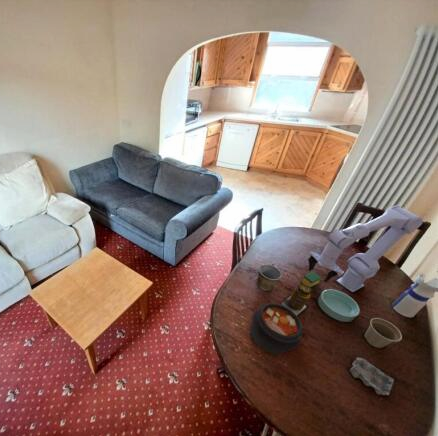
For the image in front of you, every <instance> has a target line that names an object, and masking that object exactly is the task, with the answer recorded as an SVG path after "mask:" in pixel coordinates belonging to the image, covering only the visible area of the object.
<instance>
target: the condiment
mask: <svg viewBox="0 0 438 436" xmlns="http://www.w3.org/2000/svg"><path fill="white" fill-rule="evenodd" d="M311 294H312V287H309V286H307V285H305V284H303V283H299V284H298V285H297V286H296V287H295V288H294V290H293V292H292V293H291V295H290V296H289V297H288V298H286V299H285V300H284V301H282V303H281V305H283V306H285V307H287V308H289V309H290V310H291V311H293V312H294V313H295V314H296V315H297V316H298V315H299V314H301V312H303V311H304V310H305V309H306V308H307V307H308V306H307V305H306V303H307V302H308V300H309V299H310V297H311Z"/></svg>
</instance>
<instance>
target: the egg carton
mask: <svg viewBox="0 0 438 436" xmlns="http://www.w3.org/2000/svg"><path fill="white" fill-rule="evenodd" d="M351 366H352V367H351V368H350V369H349V372H350V373H351V375H352V376H353V378H355V379H358V378H359V379H360V380H361V381H362V382H363V385H365V386H367V387H371V388H372V389H374V391H375V393H376V394H377V395H379V396H381V395H382V396H386V395H387V396H390V393H391V390H392V388H393V384H394V381H395V379H394V378H392V377H391V376H389V375H387V374H385V373H384V372H383V371H381V369H379V368H377V367H376V366H374V365H373V364H372V363H370V362H369V361H368V360H366V359H365V358H363V357H356V359H355V360H354V361H353V362H352V364H351Z"/></svg>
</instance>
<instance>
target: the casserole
mask: <svg viewBox="0 0 438 436" xmlns="http://www.w3.org/2000/svg"><path fill="white" fill-rule="evenodd" d="M303 329H304V328H303V326H302V322H301V320H300V318H299V316H298V315H296V314H295V313H294V312H293V311H291V310H290V309H289V308H287V307H285V306H284V305H282V304H280V303H275V302H271V303H266V304H264V305H261V306H260V307H259V309H257V311H255V312H254V314H253V315H252V320H251V327H250V331H249V334H250V337H251V339H252V340H253V342H254V343H255V344H256V345H257V346H258V347H259V348H261V349H262V350H263V351H265V352H266V353H268V354H271V355H274V356H277V355H280V354H282V353H284V352H288V351H293V350H296V349H297V348H298V347H299V346H300V344H301V341H302V336H303V333H304V330H303Z"/></svg>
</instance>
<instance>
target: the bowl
mask: <svg viewBox="0 0 438 436" xmlns="http://www.w3.org/2000/svg"><path fill="white" fill-rule="evenodd" d="M317 303H318V305H319V306H318V307H320V309H321V310H322V311H323V312H324V313H325V314H326V315H327V316H328V317H331V318H332V319H334V320H337V321H339V322H343V323H344V322H345V323H350V322H352V321H354V320H355V319H356V318H357V317H358V316H359V315H360V311H361V310H360V306H359V305H358V303H357V302H356V300H355V299H353V298H352V297H351V296H349V294H347V293H345V292H344V291H343V292H342V291H341V290H337V289H331V288H328V289H325V290H323V291H322V292H321V294H320V295H319V296H318V298H317Z"/></svg>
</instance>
